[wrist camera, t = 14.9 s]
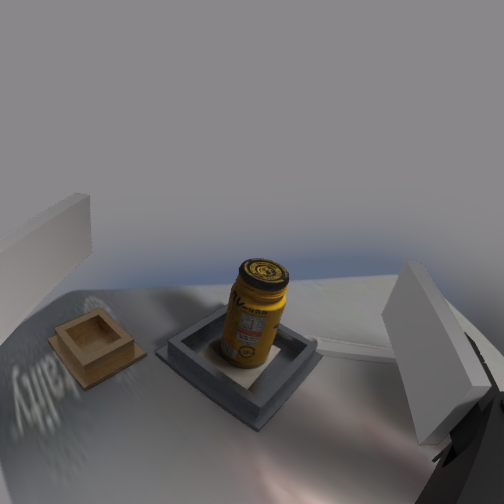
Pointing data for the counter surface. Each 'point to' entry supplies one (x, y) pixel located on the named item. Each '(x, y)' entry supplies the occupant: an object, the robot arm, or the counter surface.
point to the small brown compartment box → (94, 348)
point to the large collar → (226, 389)
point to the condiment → (250, 322)
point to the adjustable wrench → (352, 350)
